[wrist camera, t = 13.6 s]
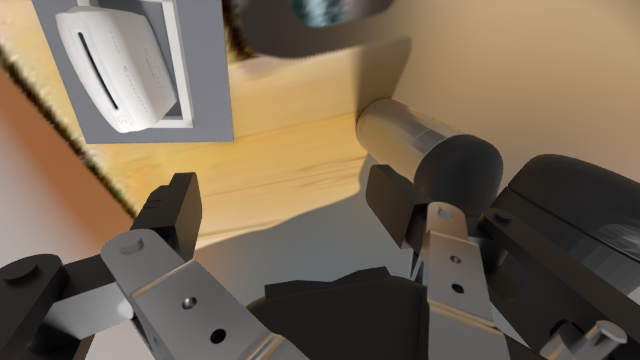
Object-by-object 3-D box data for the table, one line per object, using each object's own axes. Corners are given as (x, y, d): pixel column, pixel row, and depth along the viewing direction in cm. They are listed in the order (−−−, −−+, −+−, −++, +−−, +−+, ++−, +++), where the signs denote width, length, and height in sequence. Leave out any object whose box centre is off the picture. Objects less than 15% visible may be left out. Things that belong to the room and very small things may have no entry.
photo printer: (183, 104, 33) (156, 136, 23) (147, 109, 33) (103, 144, 22) (149, 10, 28) (93, -3, 18) (105, 13, 27) (21, 2, 17)
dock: (218, -30, 29) (216, -36, 26) (234, 139, 38) (233, 146, 36) (15, -60, 24) (-12, -71, 22) (90, 141, 34) (78, 149, 31)
